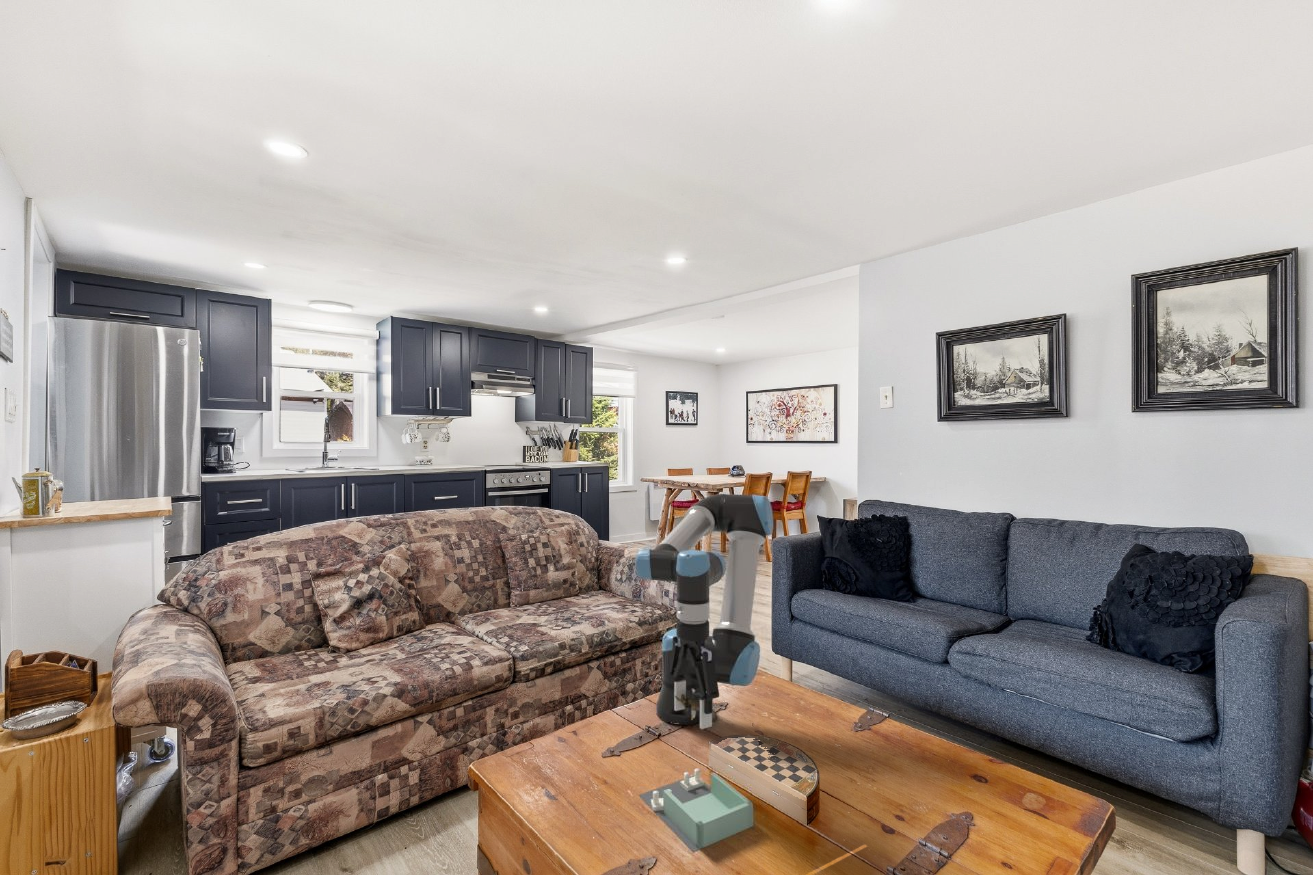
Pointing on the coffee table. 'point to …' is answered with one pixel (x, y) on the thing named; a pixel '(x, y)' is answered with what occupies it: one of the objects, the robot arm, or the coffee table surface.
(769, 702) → the coffee table surface
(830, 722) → the coffee table surface
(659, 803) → the clips
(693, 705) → the eagle figurine
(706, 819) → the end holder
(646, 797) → the mat
